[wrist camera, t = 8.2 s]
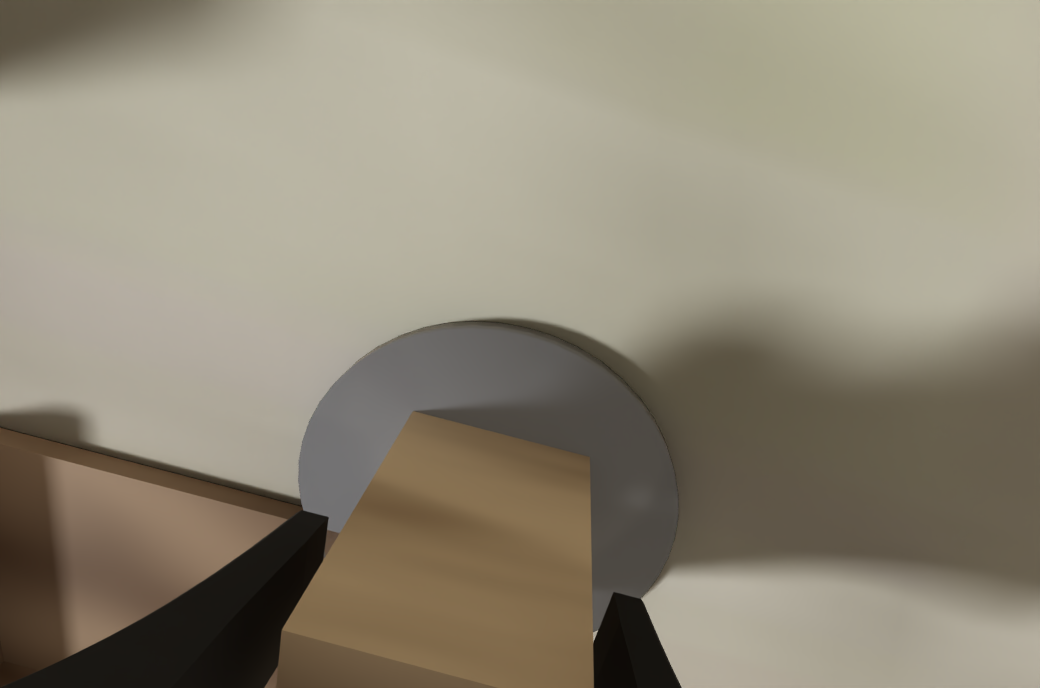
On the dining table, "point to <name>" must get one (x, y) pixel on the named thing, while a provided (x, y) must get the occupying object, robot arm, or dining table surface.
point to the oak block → (454, 571)
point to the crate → (106, 545)
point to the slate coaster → (505, 433)
